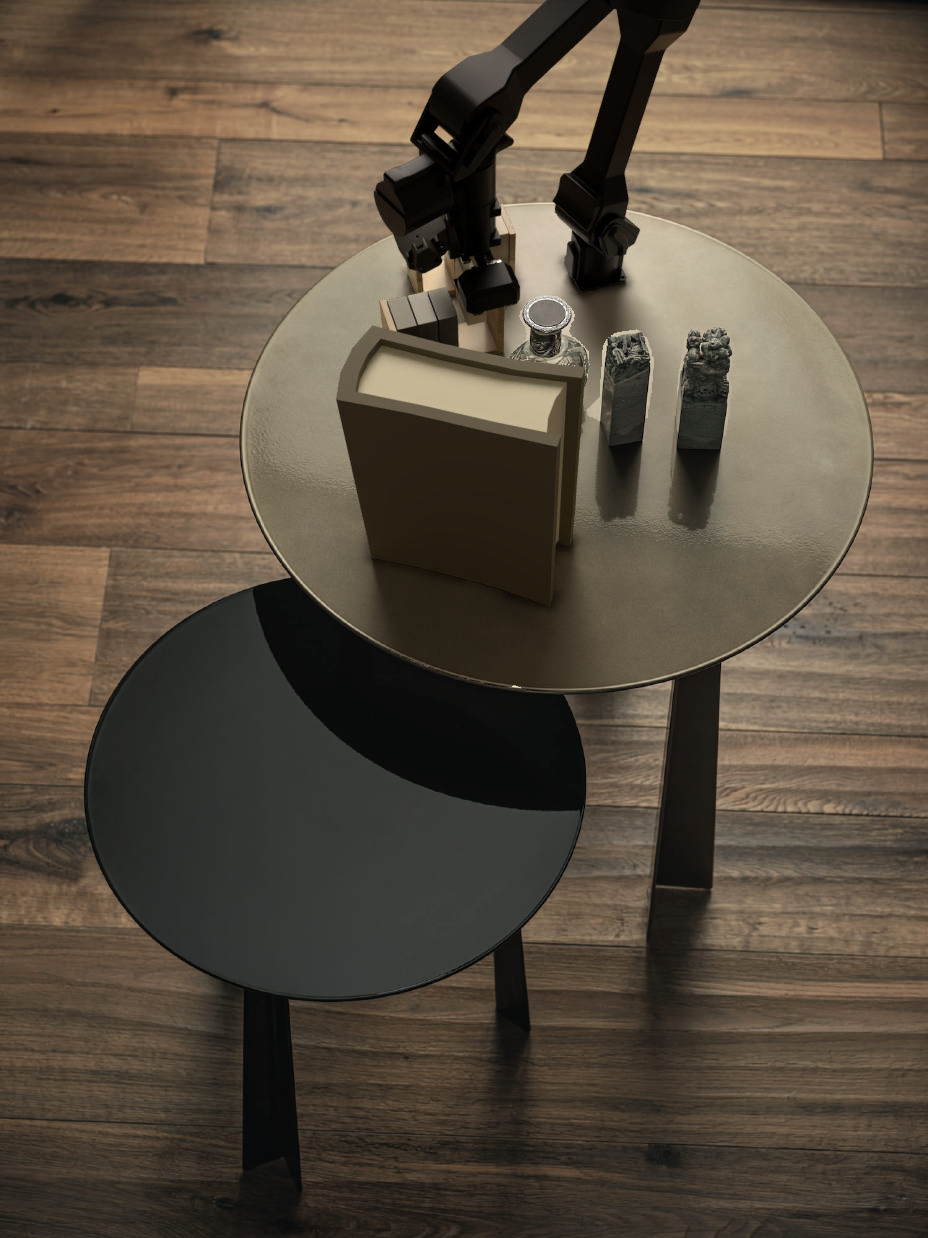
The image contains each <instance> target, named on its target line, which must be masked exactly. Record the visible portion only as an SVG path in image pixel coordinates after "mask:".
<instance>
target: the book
mask: <svg viewBox="0 0 928 1238" xmlns="http://www.w3.org/2000/svg"><path fill="white" fill-rule="evenodd" d="M586 369H587V367H586V366H578V365H577V366H576V365H568V364H558V363H550V362H540V361H530V360H524V359H523V360H520V359H516V358H515V359H514V358H510V357H505V356H500V355H498V354H495V355H492V354H488V353H483V352H479V351H474V350H470V349H465V348H460V347H456V346H451V345H447V344H442V343H438V342H434V341H431V340H427V339H423V338H419V337H415V336H411V335H408V334H404V333H400V332H396V331H392V330H388V329H384V328H382V326H381V327H380V326H377V325H374V324H373V325H371V326H370V327H369V328H368V329H367V331H365V332H364V334H363V335H362V336H361V338H360V339H359V340H358V341H357V342H356V343H355V344H354V345H353V346H352V348H351V350H350V352H349V354H348V356H347V358H346V360H345V361H344V364H343V367H342V368H341V370H340V373H339V379H338V385H337V391H336V396H335V397H336V398H335V401H336V405H337V409H338V414H339V419H340V423H341V427H342V432H343V436H344V440H345V445H346V450H347V454H348V459H349V463H350V469H351V471H352V476H353V480H354V485H355V490H356V493H357V499H358V503H359V508H360V512H361V517H362V520H363V526H364V530H365V534H366V538H367V543H368V548H369V552H370V556H371V558H373V559H377V560H383V561H387V562H391V563H396V564H402V565H405V566H410V567H415V568H419V569H425V570H429V571H433V572H437V573H441V574H444V575H449V576H452V577H456V578H459V579H463V580H466V581H472V582H474V583H475V582H476V583H480V584H483V585H486V586H491V587H494V588H497V589H499V590H503V591H506V592H508V593H511V594H514V595H516V596H519V597H521V598H525V599H527V600H530V601H533V602H536V603H538V604H540V605H544V606H547V607H551V605H552V601H553V598H554V588H555V587H554V585H555V567H556V566H555V564H556V546H557V544H558V545H561V546H565V547H569V548H571V545H572V542H573V539H574V528H575V515H576V502H577V489H578V475H579V464H580V463H579V461H580V449H581V437H582V436H581V434H582V421H583V410H584V409H583V408H584V397H585V384H586V383H585V381H586Z"/></svg>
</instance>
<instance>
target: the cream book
mask: <svg viewBox="0 0 928 1238" xmlns="http://www.w3.org/2000/svg"><path fill="white" fill-rule="evenodd" d="M469 257H470V256H469ZM470 259H471V258H470ZM473 266H474V265H473V263H472V260H471V263H468V264H463V263H462V261H461V259H460V258H456V259H455V273H456V278H458V277H459V276H460V275H461V274H462V273H463V272H464V271H465V270H468V269H471V267H473ZM455 296H456V299H457V303H458V305H459V308H460V309H461V312H462V315H463V317H464V320H465V322H467V325H468V326H469V325H474V324H478V323H482V322H486V321H487V311H484V313H483V314H481V315H477V316H474V315H473V314H471V313H468V312H466V310H465V307H464V305H463V302H462V300H461V297H460V295H459V293H458V290H457V288H456V294H455Z"/></svg>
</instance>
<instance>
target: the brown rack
mask: <svg viewBox="0 0 928 1238" xmlns="http://www.w3.org/2000/svg"><path fill="white" fill-rule="evenodd" d="M499 204H500V206H501V216H497V217H496V228H497V230H498V232H499V235H500V237H501V245H499V246H495V247H490V250H491V252H492V255H493V257H494V258H495V259H500V260H501V261H502V262H503V261H504V262H505V263H507V264H509V265H511V267H512V269H513V271H514V274H515V275H516V251H517V250H516V249H517V248H516V247H517V244H516V243H517V232H516V230H515V228H514V225H513V224H512V221H511V219H510V217H509V214H508V212H507V210H506V208H505V205H504V203H499ZM484 259H485V258H484ZM442 260H443V261H442V263H441V265H440V266H438V267H436V268H434V269H432V270H430V271H428V272H427V273H424V274H422V273H419V272H418V270H417V271H413V270H410V269H409V268H408V266H407V265H406V273H407V276H408V278H409V281H410V284H411V286H412V289H413V292H414V294H417V293H421V292H425V291H426V292H427V291H430V290H434V289H438V288H443V287H447V290H448V292H449V295H450V296H454V295H456V285H455V283H454V280H453V279H456V273H455V264H454V260H453V259H452V260H450V258H449V255H448V251H447V252H446V253H445V254H444V255H443V259H442ZM487 265H489V263H487ZM427 294H428V293H427Z"/></svg>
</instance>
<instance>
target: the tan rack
mask: <svg viewBox="0 0 928 1238" xmlns="http://www.w3.org/2000/svg"><path fill="white" fill-rule="evenodd" d="M427 293H428V294H427ZM378 304H379V312H380V322H381V328H384V329H388V330H392V331H396V332H400V333H404V334H408V335H411V336H415V337H419V338H423V339H427V340H431V341H434V342H438V343H442V344H447V345H451V346H456V347H460V348H465V349H470V350H474V351H479V352H483V353H488V354H492V355H498V354H502V353H504V352H505V319H506V318H505V317H506V316H505V314H506V313H505V312H506V311H505V310H506V307H502V308H497V309H493V310H489V311H487V321H486V322H482V323H478V324H474V325H469V326H468V325H467V322H466V321H464V322H460V323H459V315H458V313H457V310H456V308H455V307H456V306H455V305H454V302H453V300H452V297H451V295H449V292H448V290H447V287H443V288H438V289H434V290H430V291H427V292H426V291H425V292H421V293H417V294H415V293H412V294H409V295H403V296H400V297H394V298H390V299H386V298H382V299H379V300H378Z"/></svg>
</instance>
